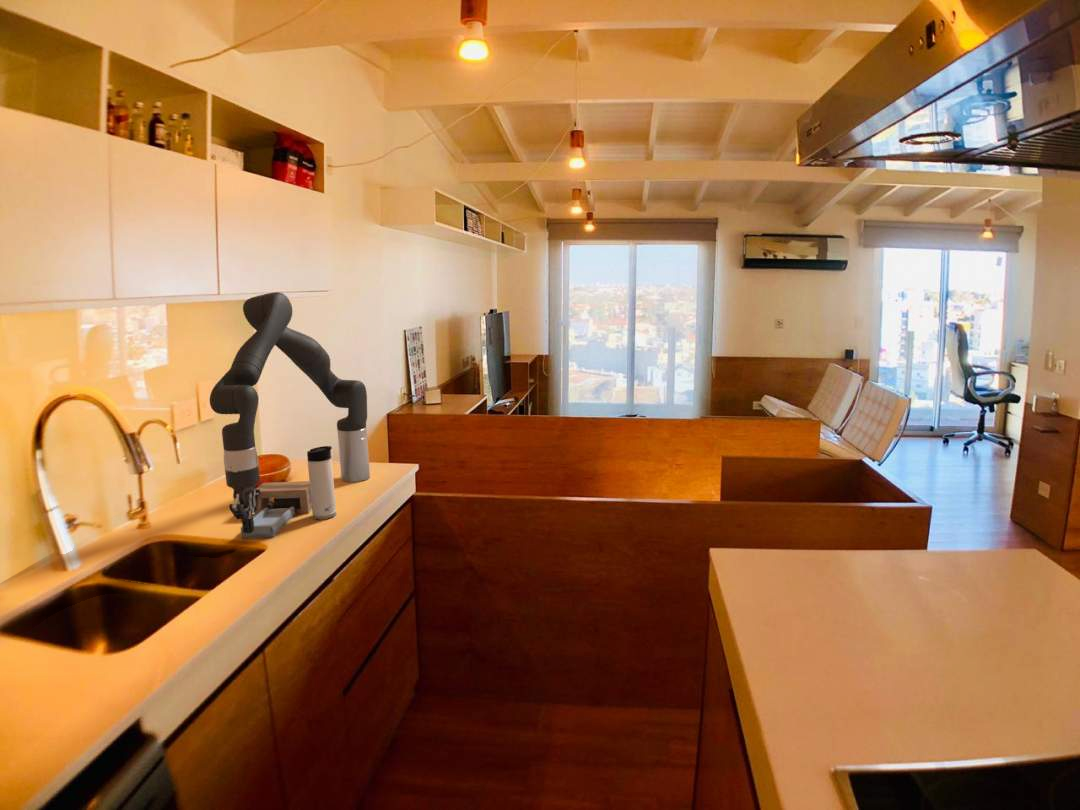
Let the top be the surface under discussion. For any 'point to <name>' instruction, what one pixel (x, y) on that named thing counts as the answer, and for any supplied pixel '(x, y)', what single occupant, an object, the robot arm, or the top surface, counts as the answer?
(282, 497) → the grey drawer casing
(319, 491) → the travel mug
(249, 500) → the robot arm
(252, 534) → the tray shell
